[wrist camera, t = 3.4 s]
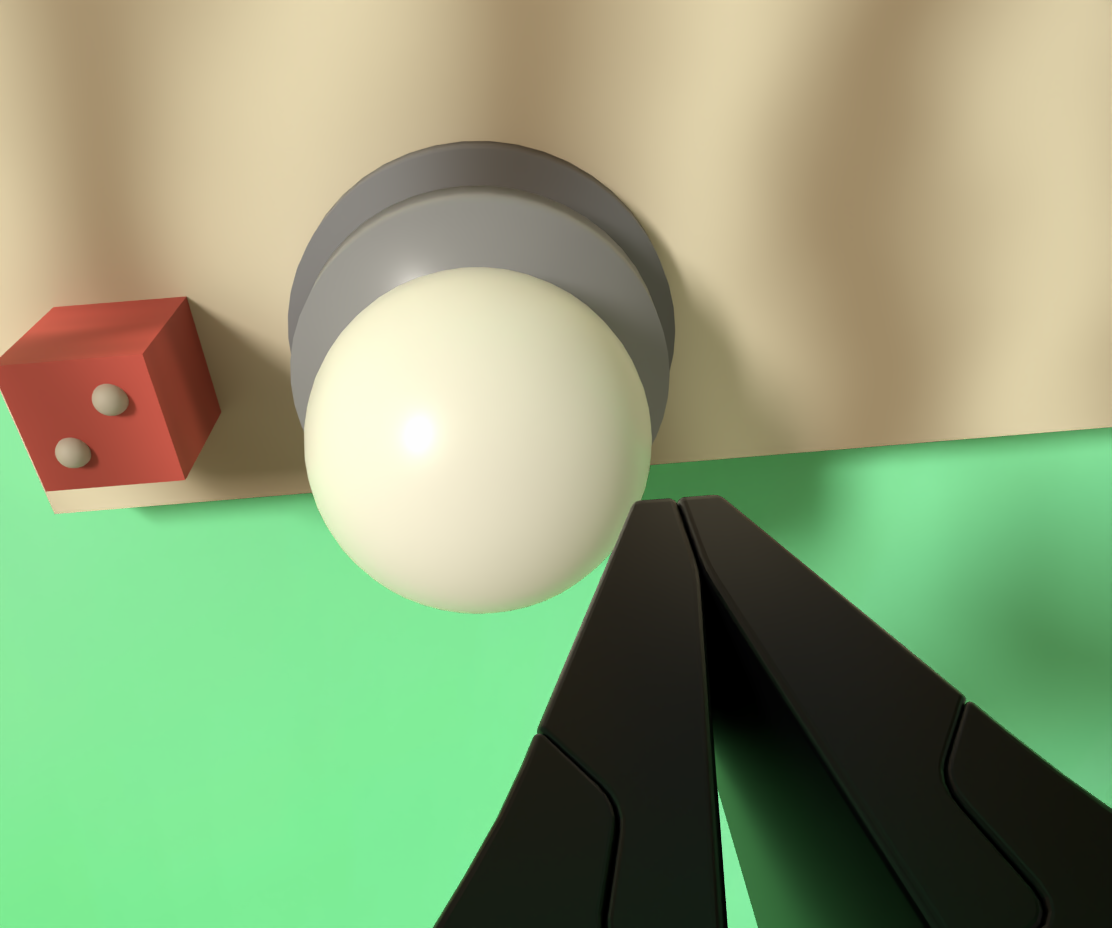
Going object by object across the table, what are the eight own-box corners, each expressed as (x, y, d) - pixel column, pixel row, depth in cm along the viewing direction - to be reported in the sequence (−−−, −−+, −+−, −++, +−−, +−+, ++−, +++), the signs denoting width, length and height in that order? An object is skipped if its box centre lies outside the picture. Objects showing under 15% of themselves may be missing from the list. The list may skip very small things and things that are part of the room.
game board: (1418, -797, 12) (1822, -1100, 8) (1081, 405, 22) (1199, 511, 18) (-394, -667, 12) (-795, -913, 8) (85, 487, 22) (-1, 611, 18)
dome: (661, 169, 16) (730, 294, 11) (662, 497, 19) (714, 697, 14) (262, 201, 16) (156, 340, 11) (339, 524, 19) (285, 733, 14)
